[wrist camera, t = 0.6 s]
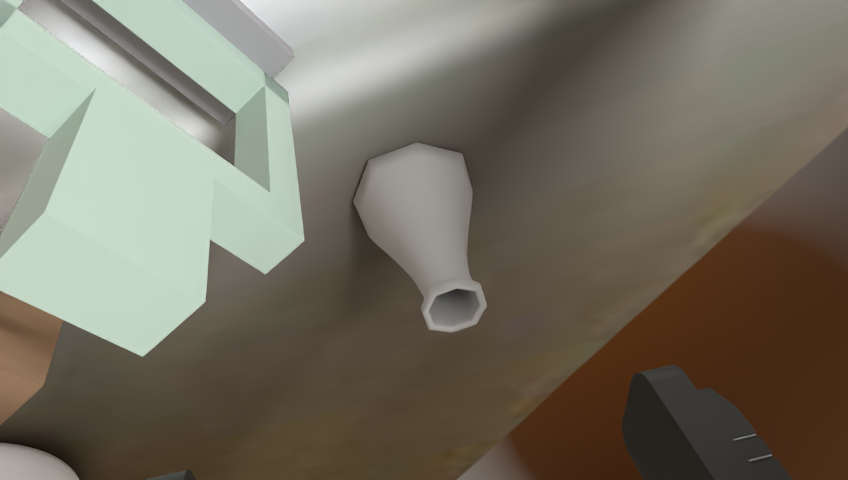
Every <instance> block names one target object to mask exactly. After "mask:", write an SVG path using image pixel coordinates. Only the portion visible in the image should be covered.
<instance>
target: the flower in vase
mask: <svg viewBox="0 0 848 480" xmlns="http://www.w3.org/2000/svg"><path fill="white" fill-rule="evenodd" d="M0 480H79V478H78V477H77V475H76V473H75V472H74V471H73V470H72V469H71V467H69V466H68V465H67V464H66V463H65V462H63V461H62V460H60V459H59V458H57V457H55V456H53V455H51V454H49V453H46V452H44V451H41V450H38V449H34V448H31V447H27V446H22V445H17V444H9V443H0Z"/></svg>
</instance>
